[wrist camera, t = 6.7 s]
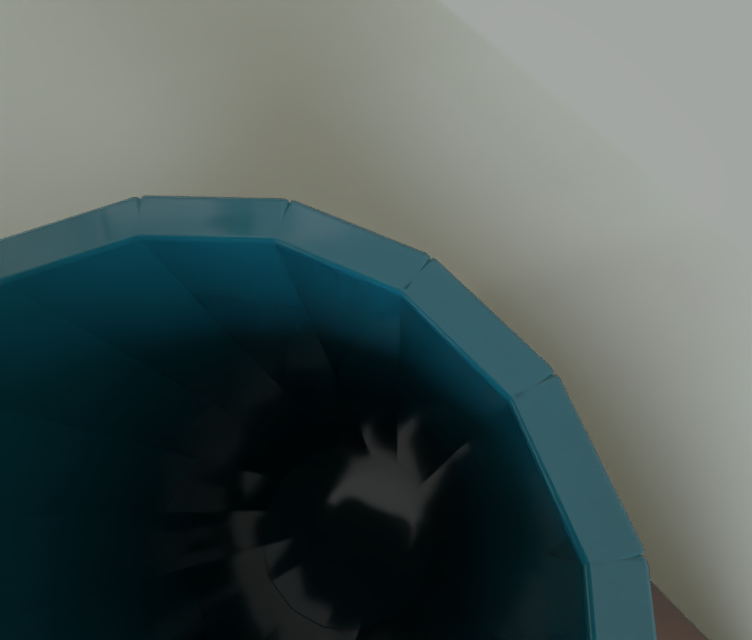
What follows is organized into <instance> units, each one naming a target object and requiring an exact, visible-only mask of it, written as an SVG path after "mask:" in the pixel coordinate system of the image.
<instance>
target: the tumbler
mask: <svg viewBox="0 0 752 640" xmlns="http://www.w3.org/2000/svg"><path fill="white" fill-rule="evenodd" d="M553 372H554V371H553V369H552V367H551V366H550V365H549V364H548V363H547V362H546V361H544V360H543V359H542V358H541V357H540V356H539V355H538V354H537V353H536V352H535V351H534V350H533V349H532V348H531V347H529V346H528V345H527V344H526V343H525V342H524V341H523V340H522V339H521V338H520V337H519V336H518V335H517V334H516V333H514V332H513V331H512V330H511V329H510V328H509V327H508V326H507V325H506V324H505V323H504V322H503V321H502V320H500V319H499V318H498V317H497V316H496V315H495V314H494V313H493V312H492V311H491V310H490V309H489V308H488V307H487V306H485V305H484V304H483V303H482V302H481V301H480V300H479V299H478V298H477V297H476V296H475V295H474V294H473V293H472V292H470V291H469V290H468V289H467V288H466V287H465V286H464V285H463V284H462V283H461V282H460V281H459V280H458V279H457V278H455V277H454V276H453V275H452V274H451V273H450V272H449V271H448V270H447V269H446V268H445V267H444V266H443V265H442V264H440V263H439V262H438V261H437V260H436V259H434V258H432V259H430V256H429V255H428V254H426V253H424V252H422V251H419V250H417V249H414V248H412V247H409V246H407V245H404V244H402V243H399V242H397V241H394V240H392V239H389V238H387V237H384V236H382V235H379V234H377V233H374V232H372V231H369V230H367V229H364V228H362V227H359V226H357V225H354V224H352V223H349V222H347V221H344V220H342V219H339V218H337V217H334V216H332V215H329V214H327V213H324V212H322V211H319V210H317V209H314V208H312V207H309V206H307V205H304V204H302V203H299V202H297V201H290V202H289V201H288V200H286V199H282V198H236V197H190V196H142V197H141V198H138V197H132V198H129V199H126V200H123V201H120V202H117V203H113V204H110V205H107V206H104V207H101V208H98V209H94V210H91V211H88V212H85V213H82V214H79V215H75V216H72V217H69V218H66V219H63V220H60V221H56V222H53V223H50V224H47V225H44V226H41V227H38V228H34V229H31V230H28V231H25V232H22V233H19V234H15V235H12V236H9V237H6V238H3V239H0V640H657V636H656V627H655V618H654V610H653V601H652V593H651V584H650V576H649V567H648V562H647V560H646V558H645V557H644V556H642V554H643V553H644V549H643V545H642V543H641V541H640V539H639V537H638V535H637V533H636V531H635V529H634V527H633V525H632V523H631V521H630V519H629V517H628V515H627V513H626V511H625V509H624V507H623V505H622V503H621V501H620V499H619V497H618V495H617V493H616V491H615V489H614V487H613V485H612V483H611V481H610V478H609V476H608V474H607V472H606V470H605V468H604V466H603V464H602V462H601V460H600V458H599V456H598V454H597V452H596V450H595V448H594V446H593V444H592V442H591V440H590V438H589V436H588V434H587V432H586V430H585V428H584V426H583V424H582V422H581V420H580V418H579V416H578V414H577V412H576V410H575V408H574V406H573V404H572V402H571V400H570V398H569V396H568V394H567V392H566V390H565V388H564V386H563V384H562V382H561V379H560V378H559V377H558V376H557V375H554V374H553Z"/></svg>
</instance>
